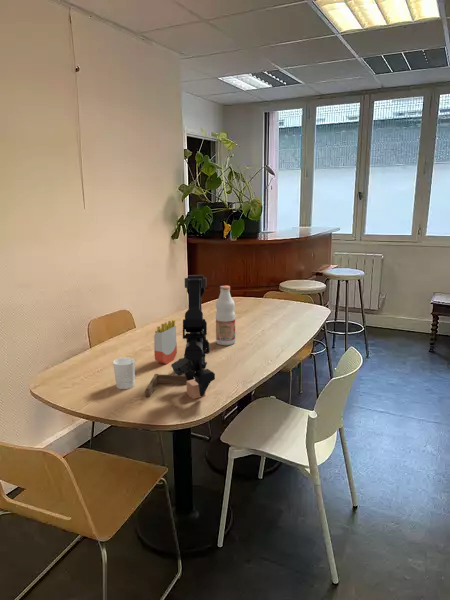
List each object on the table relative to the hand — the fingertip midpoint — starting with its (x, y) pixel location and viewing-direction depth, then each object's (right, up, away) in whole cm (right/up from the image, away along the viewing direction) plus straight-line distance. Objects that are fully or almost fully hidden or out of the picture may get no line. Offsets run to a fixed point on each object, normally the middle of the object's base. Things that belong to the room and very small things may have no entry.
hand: (196, 391), depth 160 cm
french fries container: (-15, +6, +33) cm, 37 cm away
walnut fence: (-11, 0, +5) cm, 12 cm away
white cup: (-27, 0, +8) cm, 29 cm away
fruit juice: (+11, +12, +56) cm, 58 cm away
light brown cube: (0, -1, 0) cm, 1 cm away
